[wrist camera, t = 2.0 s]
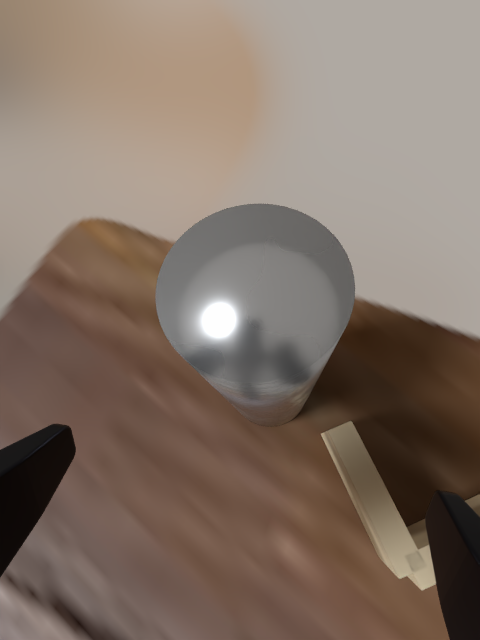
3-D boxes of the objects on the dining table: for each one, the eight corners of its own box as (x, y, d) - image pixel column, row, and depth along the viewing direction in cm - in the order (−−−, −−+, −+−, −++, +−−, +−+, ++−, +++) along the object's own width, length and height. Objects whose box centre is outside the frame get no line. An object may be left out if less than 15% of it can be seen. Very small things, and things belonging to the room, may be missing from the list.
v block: (495, 614, 15) (545, 653, 12) (294, 514, 17) (296, 527, 14) (512, 495, 16) (560, 505, 13) (325, 419, 18) (333, 413, 16)
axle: (257, 442, 18) (214, 426, 6) (218, 375, 20) (125, 261, 8) (322, 399, 19) (400, 308, 7) (279, 337, 20) (280, 176, 8)
